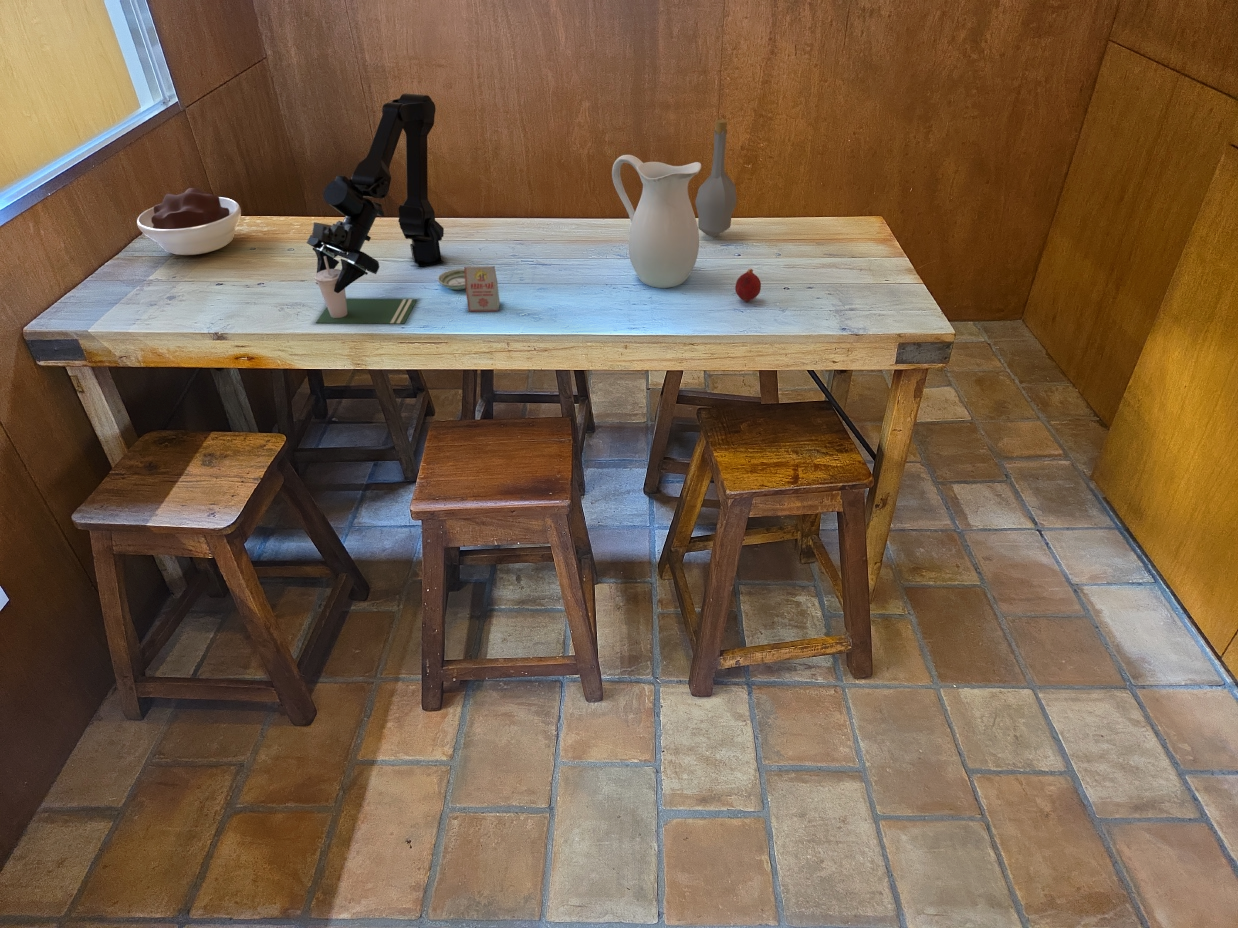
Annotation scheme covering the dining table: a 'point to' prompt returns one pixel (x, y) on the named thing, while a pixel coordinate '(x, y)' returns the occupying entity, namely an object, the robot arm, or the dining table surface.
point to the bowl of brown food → (191, 222)
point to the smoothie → (331, 291)
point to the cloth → (373, 311)
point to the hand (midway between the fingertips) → (326, 288)
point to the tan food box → (481, 288)
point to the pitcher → (661, 222)
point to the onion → (748, 286)
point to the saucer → (453, 279)
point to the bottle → (716, 190)
